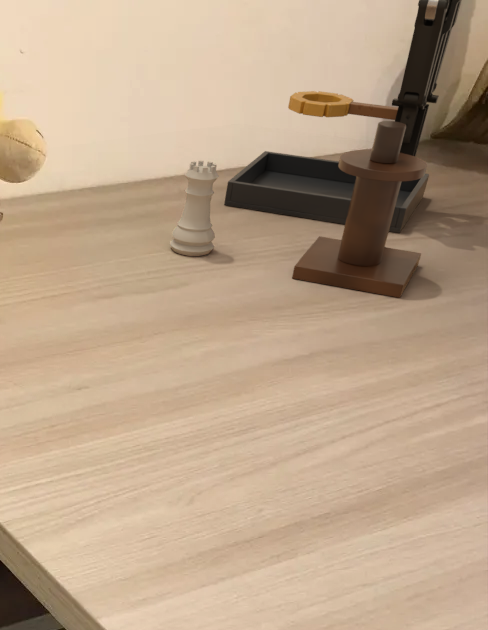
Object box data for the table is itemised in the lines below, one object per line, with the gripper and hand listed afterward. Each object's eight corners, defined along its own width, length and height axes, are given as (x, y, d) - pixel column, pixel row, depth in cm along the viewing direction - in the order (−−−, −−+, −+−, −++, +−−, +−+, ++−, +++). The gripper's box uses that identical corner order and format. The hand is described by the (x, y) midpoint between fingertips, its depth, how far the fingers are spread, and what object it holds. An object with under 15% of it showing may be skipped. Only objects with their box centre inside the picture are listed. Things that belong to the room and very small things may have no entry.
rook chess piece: (222, 252, 103) (236, 166, 98) (189, 260, 101) (202, 173, 96) (192, 239, 106) (204, 155, 101) (159, 247, 104) (170, 161, 99)
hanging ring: (282, 112, 112) (285, 99, 111) (297, 100, 116) (300, 88, 115) (416, 129, 107) (419, 117, 106) (426, 117, 111) (429, 104, 110)
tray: (423, 197, 119) (429, 173, 118) (399, 233, 109) (406, 208, 107) (261, 173, 126) (264, 150, 124) (224, 205, 115) (227, 181, 114)
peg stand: (418, 265, 101) (459, 119, 93) (399, 298, 94) (442, 143, 86) (316, 248, 105) (347, 106, 96) (291, 278, 98) (322, 128, 89)
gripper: (436, -102, 104) (374, 151, 119) (412, -94, 94) (348, 182, 109) (516, -98, 101) (442, 161, 116) (499, -88, 91) (421, 193, 106)
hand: (396, 170), depth 113 cm, fingers closed on hanging ring
